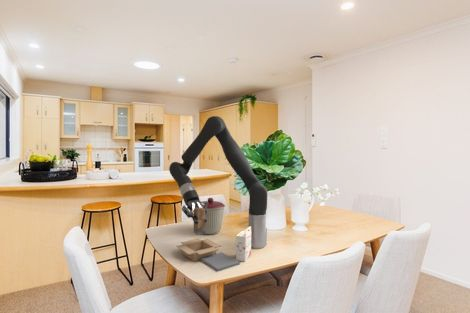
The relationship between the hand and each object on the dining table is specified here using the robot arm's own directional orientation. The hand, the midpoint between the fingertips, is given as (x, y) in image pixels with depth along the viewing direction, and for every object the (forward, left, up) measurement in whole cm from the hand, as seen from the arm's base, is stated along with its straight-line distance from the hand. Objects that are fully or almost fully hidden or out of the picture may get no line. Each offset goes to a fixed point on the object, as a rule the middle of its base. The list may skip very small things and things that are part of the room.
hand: (201, 222), depth 131 cm
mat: (-3, +12, -16) cm, 20 cm away
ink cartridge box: (-15, +14, -16) cm, 26 cm away
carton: (0, -2, -16) cm, 16 cm away
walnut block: (0, -2, -6) cm, 6 cm away
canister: (-23, -27, -16) cm, 39 cm away
